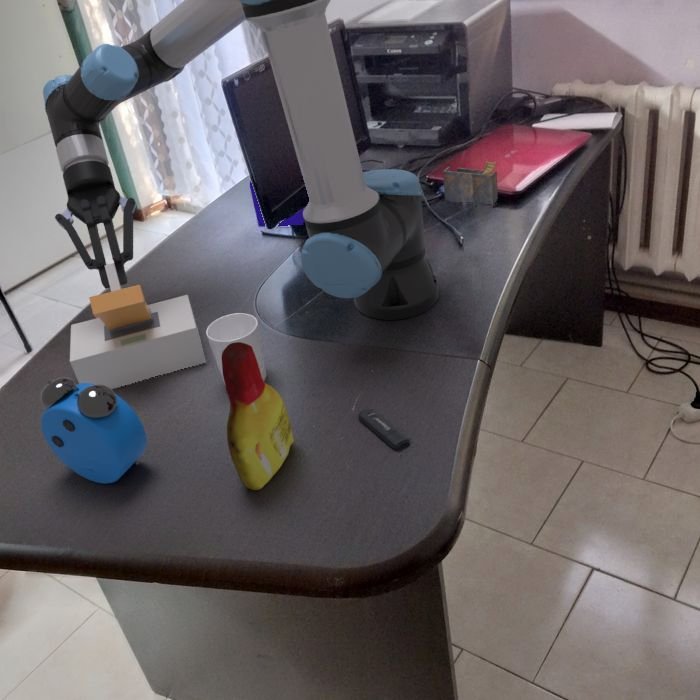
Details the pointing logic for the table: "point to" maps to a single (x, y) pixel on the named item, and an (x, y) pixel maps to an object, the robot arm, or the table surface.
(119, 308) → the lever
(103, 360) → the white socket base
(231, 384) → the bottle
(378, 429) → the usb stick
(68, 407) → the alarm clock
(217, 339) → the white cup
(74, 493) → the table surface
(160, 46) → the robot arm
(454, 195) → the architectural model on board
